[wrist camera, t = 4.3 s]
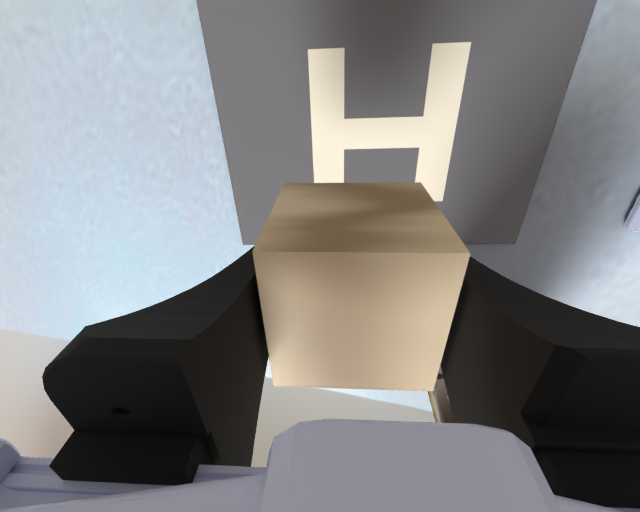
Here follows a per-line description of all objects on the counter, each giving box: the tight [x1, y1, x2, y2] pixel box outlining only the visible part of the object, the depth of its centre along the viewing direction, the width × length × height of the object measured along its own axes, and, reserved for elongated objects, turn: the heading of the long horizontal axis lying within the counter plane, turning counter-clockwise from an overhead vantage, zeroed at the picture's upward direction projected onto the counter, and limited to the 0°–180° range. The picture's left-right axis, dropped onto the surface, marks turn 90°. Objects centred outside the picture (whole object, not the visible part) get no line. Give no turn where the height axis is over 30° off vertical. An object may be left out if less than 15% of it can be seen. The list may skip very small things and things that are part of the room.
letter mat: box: [196, 0, 597, 245], centre depth 17 cm, size 18×14×1 cm
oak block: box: [252, 182, 471, 391], centre depth 11 cm, size 5×5×5 cm
